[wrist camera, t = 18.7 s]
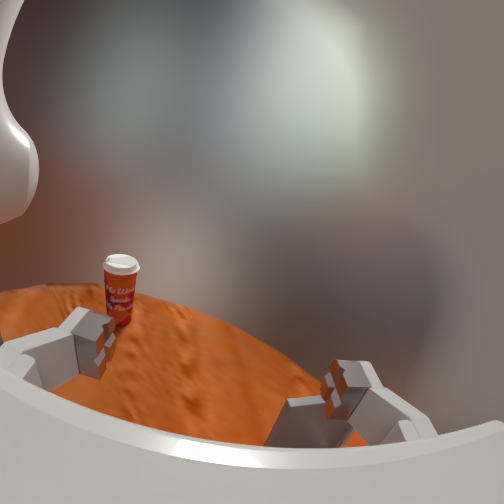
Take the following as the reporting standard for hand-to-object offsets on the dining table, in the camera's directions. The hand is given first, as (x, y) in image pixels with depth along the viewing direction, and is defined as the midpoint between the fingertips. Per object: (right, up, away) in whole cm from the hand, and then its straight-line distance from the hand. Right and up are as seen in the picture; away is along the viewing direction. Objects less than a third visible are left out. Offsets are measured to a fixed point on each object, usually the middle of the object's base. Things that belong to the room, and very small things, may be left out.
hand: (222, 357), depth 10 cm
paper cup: (-28, -11, +49) cm, 58 cm away
